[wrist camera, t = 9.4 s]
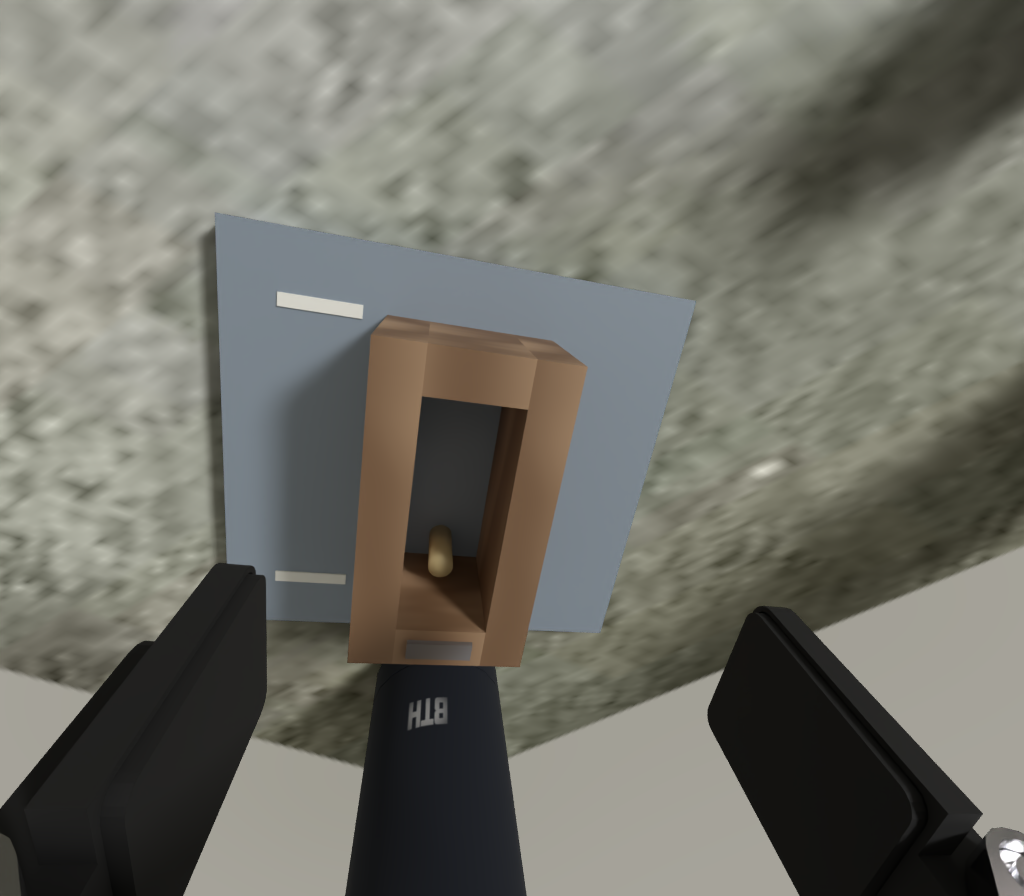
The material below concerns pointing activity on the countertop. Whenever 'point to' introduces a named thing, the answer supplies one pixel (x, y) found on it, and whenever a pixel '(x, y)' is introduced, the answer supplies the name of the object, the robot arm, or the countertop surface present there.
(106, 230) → the countertop surface
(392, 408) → the frame
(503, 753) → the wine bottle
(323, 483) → the board
